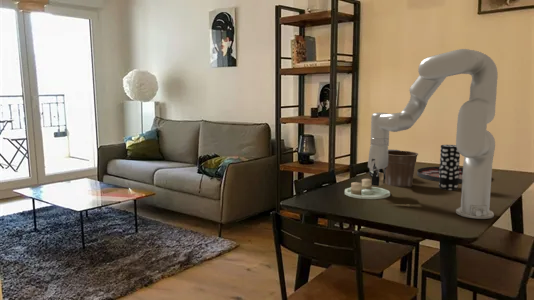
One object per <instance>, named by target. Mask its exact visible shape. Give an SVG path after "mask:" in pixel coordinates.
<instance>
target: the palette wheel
mask: <svg viewBox="0 0 534 300" xmlns="http://www.w3.org/2000/svg"><path fill="white" fill-rule="evenodd" d="M439 174H440V166H427V167H421V168H418V169H417V171H416V175H417V176H418V177H420V178H422V179H425V180H430V181H436V182H439ZM462 175H463V167H460V166H459V181H458V184H462Z"/></svg>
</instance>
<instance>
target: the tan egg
mask: <svg viewBox="0 0 534 300" xmlns="http://www.w3.org/2000/svg"><path fill="white" fill-rule="evenodd" d="M350 187H351V194H355V195H361V190H362V182H357V181H355V182H351V183H350Z"/></svg>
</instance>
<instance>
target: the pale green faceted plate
mask: <svg viewBox="0 0 534 300" xmlns="http://www.w3.org/2000/svg"><path fill="white" fill-rule="evenodd" d="M345 195H346V196H348V197H351V198H354V199H362V200H381V199H387V198H389V197H391V192H390V190H388V189H386V188H382V187H378V186H372V190H371V189H362V190H361V195H355V194H351V186H350V187H347V188H345V189H344V196H345Z"/></svg>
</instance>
